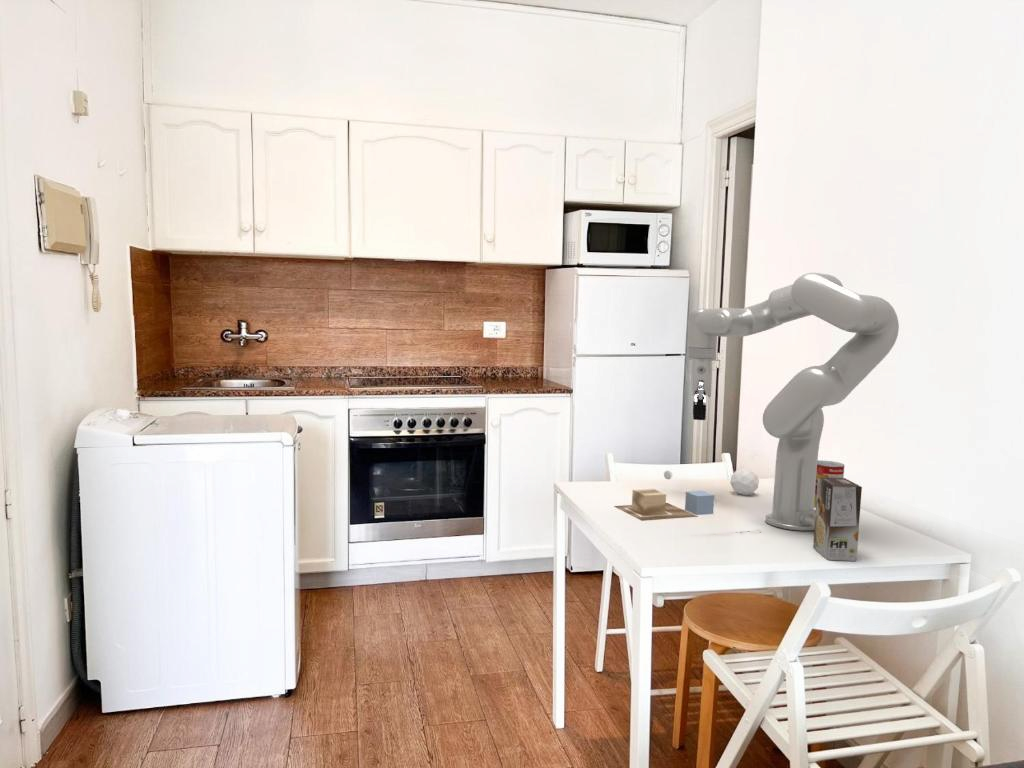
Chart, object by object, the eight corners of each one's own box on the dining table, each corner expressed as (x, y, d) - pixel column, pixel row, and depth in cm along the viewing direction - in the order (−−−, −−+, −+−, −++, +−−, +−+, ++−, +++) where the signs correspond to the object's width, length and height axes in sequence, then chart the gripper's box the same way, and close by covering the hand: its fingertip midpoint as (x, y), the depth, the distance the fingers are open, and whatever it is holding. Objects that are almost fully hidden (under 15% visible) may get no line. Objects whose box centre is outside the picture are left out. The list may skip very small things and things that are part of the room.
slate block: (712, 518, 189) (714, 495, 188) (696, 519, 187) (697, 496, 186) (701, 513, 193) (702, 490, 193) (684, 514, 192) (685, 491, 191)
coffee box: (857, 561, 158) (863, 486, 157) (827, 560, 158) (832, 485, 157) (840, 548, 167) (845, 477, 166) (811, 547, 167) (816, 476, 166)
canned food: (823, 501, 212) (827, 459, 210) (847, 508, 205) (850, 465, 203) (803, 503, 208) (807, 461, 207) (827, 510, 201) (830, 466, 200)
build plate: (697, 521, 185) (698, 516, 185) (641, 525, 180) (641, 520, 180) (666, 507, 198) (667, 502, 198) (613, 510, 193) (613, 505, 193)
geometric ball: (749, 505, 216) (761, 487, 210) (723, 492, 217) (734, 474, 212) (754, 488, 221) (765, 470, 216) (729, 476, 223) (739, 458, 218)
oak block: (665, 514, 187) (666, 494, 186) (644, 515, 184) (645, 495, 184) (652, 507, 192) (653, 488, 192) (631, 509, 190) (632, 489, 190)
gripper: (717, 356, 193) (714, 422, 195) (715, 354, 210) (712, 415, 211) (687, 355, 195) (684, 420, 196) (687, 353, 212) (684, 413, 213)
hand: (699, 417), depth 204 cm, fingers open, 9 cm apart
